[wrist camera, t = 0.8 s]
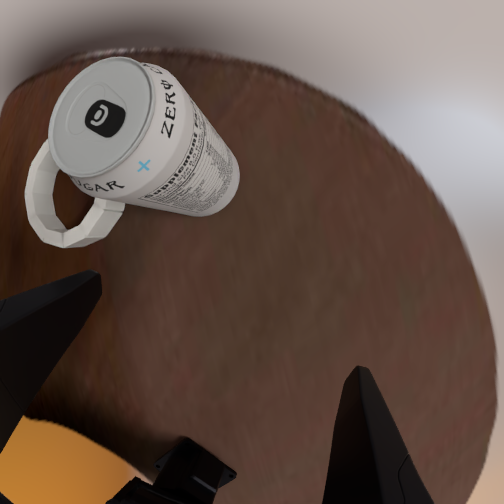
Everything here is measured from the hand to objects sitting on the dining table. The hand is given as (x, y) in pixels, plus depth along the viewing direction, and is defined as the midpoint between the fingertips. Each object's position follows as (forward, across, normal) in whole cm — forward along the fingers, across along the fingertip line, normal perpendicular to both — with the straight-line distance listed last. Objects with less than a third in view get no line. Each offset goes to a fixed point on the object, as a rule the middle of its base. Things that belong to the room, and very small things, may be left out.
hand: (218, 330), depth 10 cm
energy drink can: (+16, +7, +2) cm, 17 cm away
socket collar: (+14, +18, +5) cm, 23 cm away
